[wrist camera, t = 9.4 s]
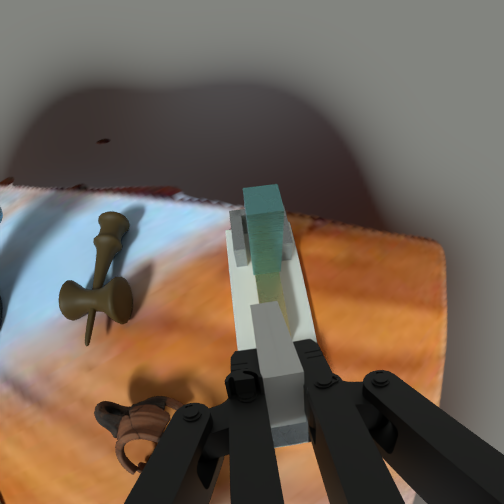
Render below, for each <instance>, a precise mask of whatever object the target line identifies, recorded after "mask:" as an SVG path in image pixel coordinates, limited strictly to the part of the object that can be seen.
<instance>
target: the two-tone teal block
mask: <svg viewBox="0 0 504 504" xmlns="http://www.w3.org/2000/svg"><path fill="white" fill-rule="evenodd" d="M243 195H244V203H245V212H246V221H247V230H248V238H249V247H250V255H251V262H252V269H253V275H255V280H256V287H257V294H258V301H259V304H260V303H267V302H273V301H278V304H279V307H280V309H281V312H282V315H283V317H284V320H285V323H286V325H287V328H288V331H289V333H290V327H289V322H288V316H287V311H286V305H285V300H284V295H283V289H282V284H281V279H280V274H279V272H281V261H282V244H283V226H284V207H283V203H282V199H281V195H280V192H279V188H278V185H277V184H274V185H265V186H258V187H249V188H243ZM290 336H291V333H290Z"/></svg>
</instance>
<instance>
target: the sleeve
mask: <svg viewBox="0 0 504 504" xmlns="http://www.w3.org/2000/svg"><path fill="white" fill-rule="evenodd" d="M271 432H272V438H273V443H274V447H281V446H287V445H293V444H299V443H304V442H308V421H307V418H306V422H302V423H297V424H292V425H286V426H280V427H274V428H271Z"/></svg>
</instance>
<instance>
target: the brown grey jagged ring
mask: <svg viewBox="0 0 504 504" xmlns="http://www.w3.org/2000/svg"><path fill="white" fill-rule="evenodd" d="M165 405H166V406H168V407H171V408H173V409H175V410H178V408H180V407H182V406H183V404H182V403H181V402H179V401H177V400H175V399H172V398H169V397H164V396H156V397H151V398H148V399H147V400H145V401H142V402H139V403H137V404H133V405H132V406H131V407H126V406H121V405H119V404H116V403H113V402H109V401H102V402H100V403H99V404H97V406H96V407H95V412H94V414H95V418H96V420H97V421H98V423H99V424H100V425H101V426H103V427H104V428H106V429H107V430H109V431H110V432H111V433H112V435H113V437H114V438H117V440H118V441H117V442H116V446H115V448H116V449H115V450H116V455H117V458H118V460H119V462H120V463H121V465H122V466H123V467H124V468H125V469H126V470H127V471H128V472H129V473H131V474H134V473H135V472H136V471H138V472H139V473H141V472H142V471H143V469H144V467H145V465H146V464H147V463H143V462H140V463H139V464H138V467H137V466H136V465H134V464H133V463H132V462H131V461H130V460H129V459H128V458H127V457H126V455H125V452H124V446H125V444H126V443H127V442H129V441H131V440H136V439H145V440H150V441H154V442H159V440H160V439H161V437H162V435H163V433H164V432H163V430H164V429H165V426H166V425H167V423H168V422H169V421H170V415H169V413H168V412H166V411H164V409H165Z"/></svg>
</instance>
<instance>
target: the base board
mask: <svg viewBox="0 0 504 504" xmlns="http://www.w3.org/2000/svg"><path fill="white" fill-rule="evenodd" d="M288 224H289V228H290V232H291V236H292V240H293V247H292V256H291V260H286V261H281V272H279V274H280V279H281V284H282V289H283V295H284V300H285V305H286V311H287V316H288V322H289V327H290V333H291V339H292V341H293V342H294V341H300V340H305V339H312V340H313V341H315V342H316V343H317V340H316V335H315V330H314V325H313V321H312V316H311V311H310V307H309V302H308V297H307V293H306V288H305V284H304V280H303V275H302V271H301V267H300V262H299V258H298V254H297V250H296V246H295V241H294V237H293V233H292V229H291V225H290V222H288ZM226 241H227V252H228V262H229V272H230V282H231V292H232V301H233V311H234V320H235V329H236V338H237V346H238V351H240V350H247V349H255V348H256V342H255V336H254V329H253V322H252V315H251V308H250V305H253V304H259V301H258V294H257V287H256V280H255V275H253V269H252V262H251V255H250V247H249V238H248V233H247V234H244V241H245V249H246V256H247V264H248V266H242V267H237V265H236V261H235V256H234V251H233V241H232V232H231V230H226ZM304 443H307V442H304ZM299 444H301V443H299ZM293 445H296V444H293ZM287 446H290V445H287ZM281 447H284V446H281ZM274 448H277V447H274Z"/></svg>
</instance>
